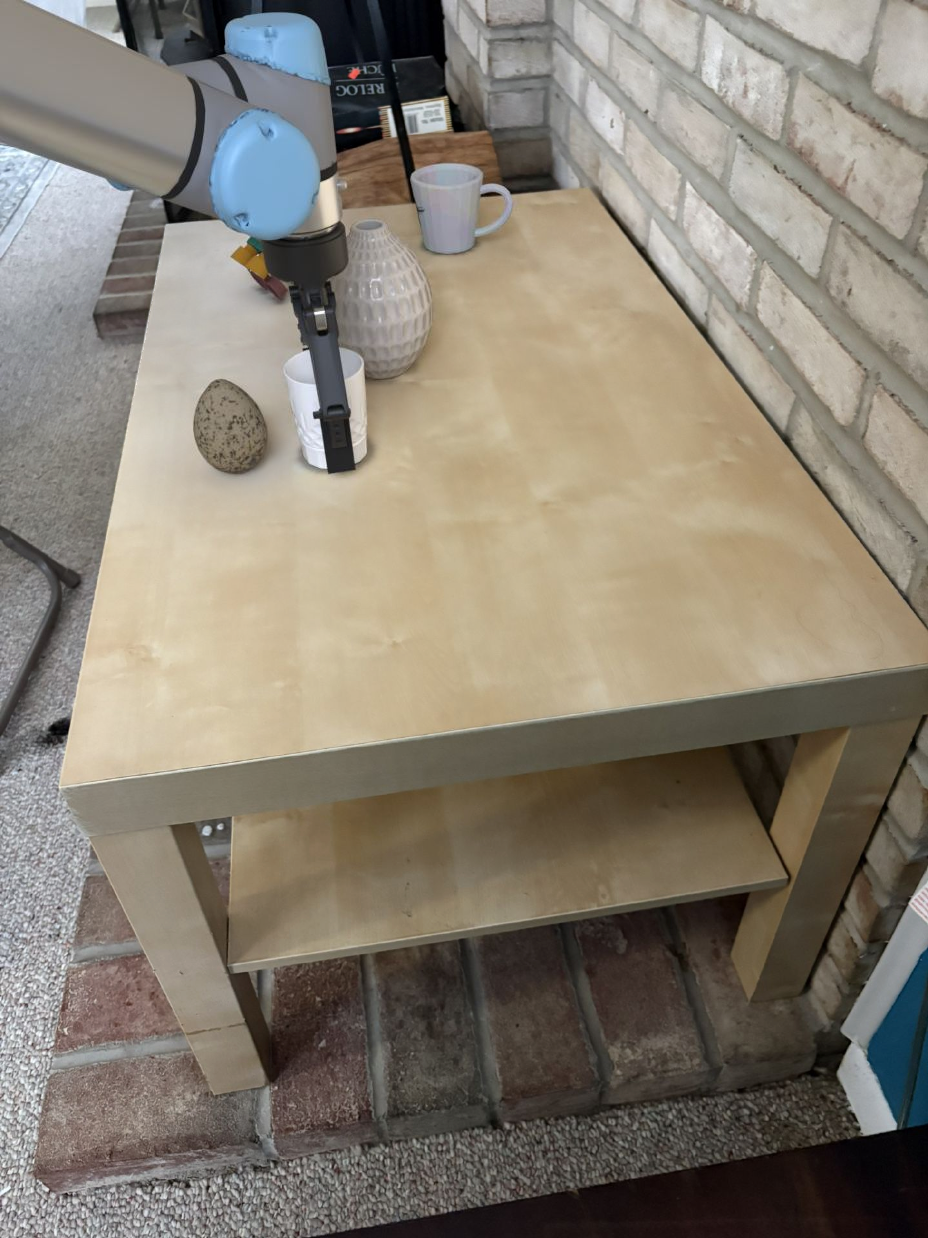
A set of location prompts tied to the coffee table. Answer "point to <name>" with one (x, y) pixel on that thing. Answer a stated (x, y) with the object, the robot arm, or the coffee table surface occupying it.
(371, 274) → the vase
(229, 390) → the decorative egg
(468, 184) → the mug
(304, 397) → the white cup
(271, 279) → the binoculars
